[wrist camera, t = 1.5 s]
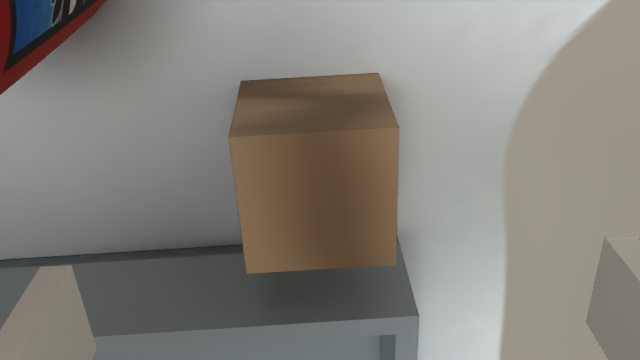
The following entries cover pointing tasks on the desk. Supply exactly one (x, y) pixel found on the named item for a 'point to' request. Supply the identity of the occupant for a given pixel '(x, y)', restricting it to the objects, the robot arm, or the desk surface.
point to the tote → (231, 307)
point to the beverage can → (36, 32)
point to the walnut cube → (315, 173)
